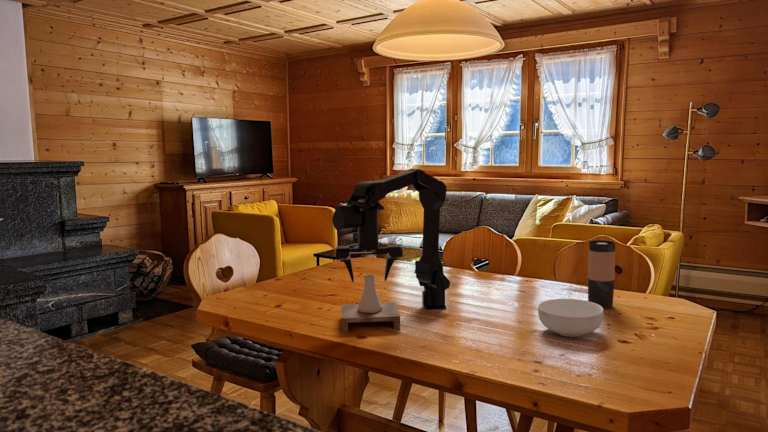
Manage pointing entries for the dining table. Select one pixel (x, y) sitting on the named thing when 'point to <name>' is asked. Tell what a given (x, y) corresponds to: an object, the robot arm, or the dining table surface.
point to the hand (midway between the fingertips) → (369, 281)
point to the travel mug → (601, 273)
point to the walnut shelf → (370, 315)
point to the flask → (369, 297)
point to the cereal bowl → (570, 316)
